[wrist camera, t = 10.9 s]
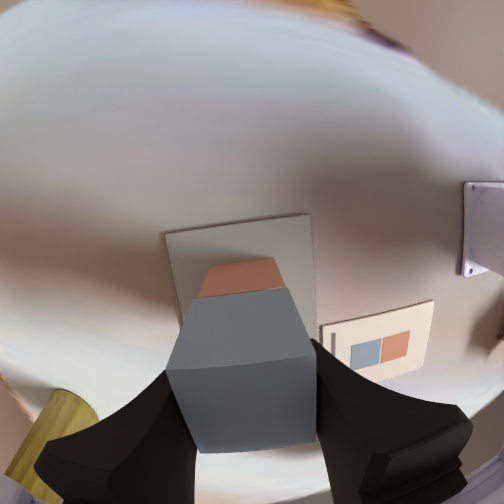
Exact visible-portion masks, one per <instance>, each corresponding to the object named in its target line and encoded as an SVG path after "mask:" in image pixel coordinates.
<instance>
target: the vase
mask: <svg viewBox="0 0 504 504" xmlns="http://www.w3.org/2000/svg"><path fill="white" fill-rule="evenodd" d="M98 422H99V419H98V416H97V415H96V413H95V411H94V410H93V409H92V408H91V407H90V406H89V405H88V404H87V403H86V402H85V401H84V400H83V399H81V398H80V397H78V396H76V395H75V394H73V393H71V392H68V391H65V390H57V391H55V392H53V394H52V396H51V398H50V400H49V402H48V403H47V404H46V406H45V407H44V409H43V410H42V412H41V413H40V415H39V416H38V418H37V420H36V421H35V423H34V425H33V426H32V428H31V430H30V431H29V433H28V435H27V437H26V438H25V439H24V441H23V443H22V445H21V446H20V448H19V450H18V451H17V453H16V455H15V457H14V458H13V460H12V462H11V463H10V465H9V467H8V468H7V470H6V472H5V473H4V475H6V476H8V477H9V478H11V479H13V480H14V481H16V482H18V483H19V484H21V485H22V486H23V487H24V488H26V489H27V490H28V491H29V492H30V493H31V494H32V495H33V496H34V497H36V498H38V499H40V500H42V501H44V502H46V503H48V504H58V502H59V500H60V498H61V497H60V496H59V495H58V494H56V493H55V492H54V491H53V490H52V489H51V488H50V487H49V486H48V485H47V484H45V483H44V482H43V481H42V480H41V479H40V477H39V476H38V475H37V474H36V472H35V470H34V466H33V465H34V463H35V462H36V460H37V458H38V456H39V455H40V453H41V451H42V449H43V448H44V446H45V444H46V443H47V441H50V440H54V439H57V438H61V437H64V436H67V435H70V434H73V433H76V432H78V431H81V430H83V429H85V428H88V427H90V426H92V425H94V424H96V423H98Z"/></svg>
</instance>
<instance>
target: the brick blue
mask: <svg viewBox="0 0 504 504" xmlns="http://www.w3.org/2000/svg"><path fill="white" fill-rule="evenodd" d="M165 371H166V374H167V377H168V379H169V382H170V385H171V387H172V390H173V392H174V395H175V398H176V400H177V403H178V405H179V407H180V410H181V412H182V415H183V417H184V419H185V422H186V424H187V426H188V428H189V431H190V433H191V435H192V437H193V439H194V442H195V444H196V446H197V448H198V450H199V452H200V453H232V452H247V451H258V450H267V449H276V448H283V447H290V446H296V445H302V444H307V443H312V442H315V441H316V352H315V350H314V347H313V345H312V343H311V340H310V338H309V336H308V333H307V331H306V328H305V326H304V324H303V321H302V319H301V317H300V314H299V312H298V310H297V307H296V305H295V303H294V300H293V298H292V296H291V294H290V291H289V289H288V287H284V288H277V289H269V290H262V291H255V292H247V293H239V294H231V295H223V296H215V297H206V298H197V299H193V301H192V303H191V306H190V308H189V311H188V313H187V316H186V318H185V320H184V323H183V325H182V328H181V330H180V333H179V335H178V338H177V340H176V343H175V346H174V348H173V351H172V353H171V356H170V358H169V361H168V364H167V366H166V369H165Z"/></svg>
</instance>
